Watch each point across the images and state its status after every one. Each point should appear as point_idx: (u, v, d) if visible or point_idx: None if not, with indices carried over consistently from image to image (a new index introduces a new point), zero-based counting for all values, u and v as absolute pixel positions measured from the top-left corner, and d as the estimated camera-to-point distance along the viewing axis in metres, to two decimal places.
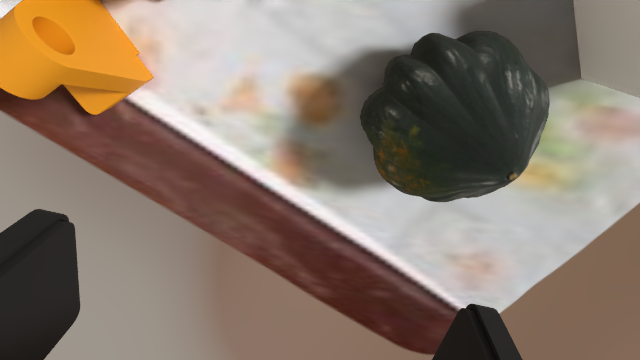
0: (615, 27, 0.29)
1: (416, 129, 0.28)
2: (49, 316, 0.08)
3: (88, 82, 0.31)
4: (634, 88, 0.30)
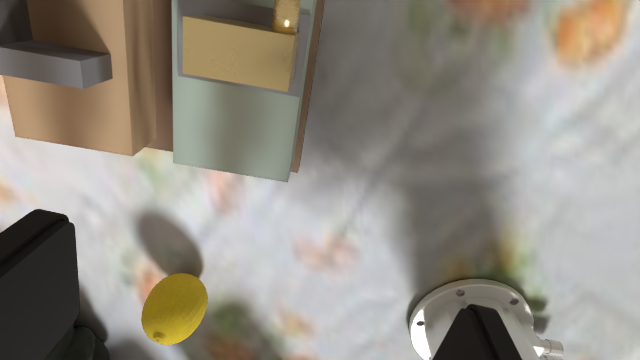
0: None
1: None
2: (49, 316, 0.08)
3: None
4: None
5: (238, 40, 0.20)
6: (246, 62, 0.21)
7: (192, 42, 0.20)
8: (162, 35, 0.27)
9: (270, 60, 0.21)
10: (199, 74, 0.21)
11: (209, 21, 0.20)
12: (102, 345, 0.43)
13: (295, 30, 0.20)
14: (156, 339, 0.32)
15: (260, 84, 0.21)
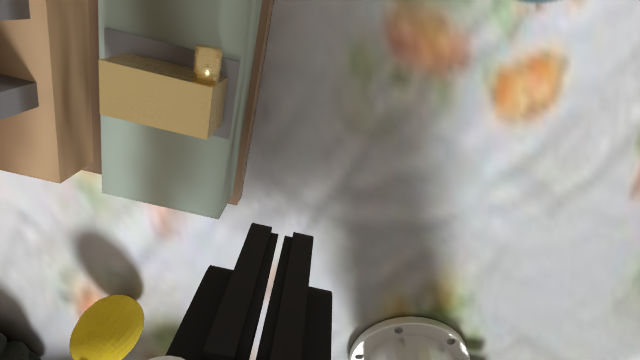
0: None
1: None
2: (259, 314, 0.09)
3: None
4: None
5: (156, 87, 0.20)
6: (164, 108, 0.20)
7: (109, 85, 0.20)
8: None
9: (189, 109, 0.20)
10: (117, 116, 0.21)
11: (126, 66, 0.20)
12: None
13: (216, 80, 0.20)
14: None
15: (179, 130, 0.21)
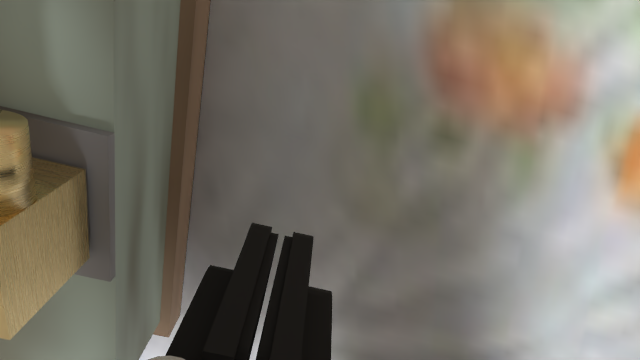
0: None
1: None
2: (259, 314, 0.09)
3: None
4: None
5: None
6: None
7: None
8: None
9: None
10: None
11: None
12: None
13: (15, 203, 0.08)
14: None
15: None
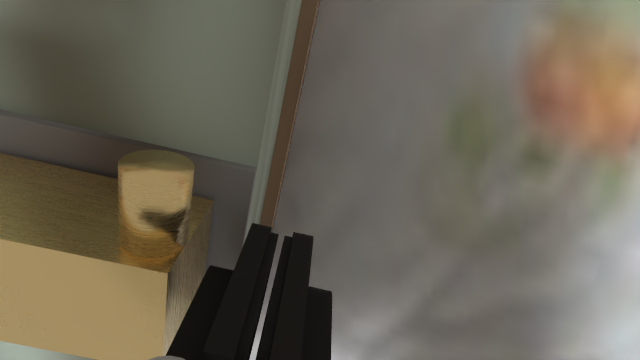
0: None
1: None
2: (259, 314, 0.09)
3: None
4: None
5: (20, 271, 0.08)
6: (49, 313, 0.08)
7: None
8: None
9: (110, 315, 0.08)
10: None
11: None
12: None
13: (179, 241, 0.08)
14: None
15: (93, 354, 0.09)
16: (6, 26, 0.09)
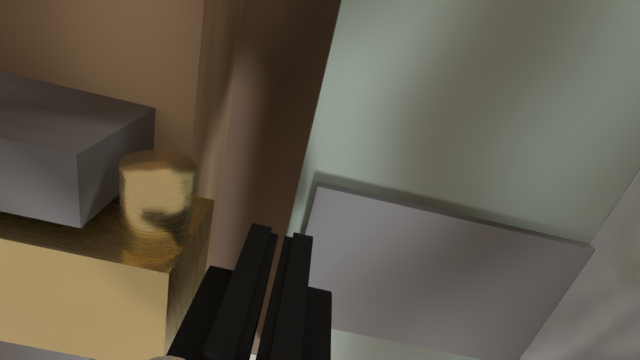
0: None
1: None
2: None
3: None
4: None
5: (21, 270, 0.07)
6: (49, 313, 0.08)
7: None
8: (235, 193, 0.15)
9: (111, 315, 0.08)
10: None
11: None
12: None
13: (180, 241, 0.08)
14: None
15: (93, 354, 0.09)
16: (400, 120, 0.09)
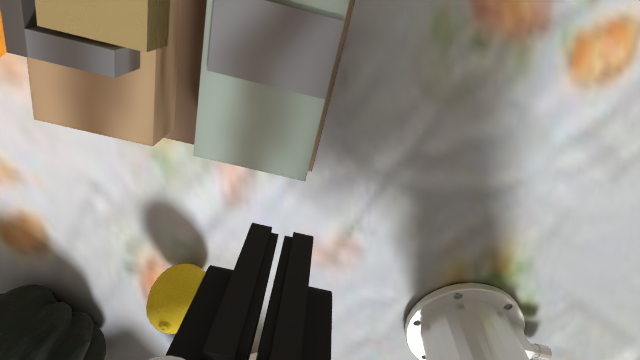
0: None
1: None
2: (259, 314, 0.09)
3: None
4: None
5: None
6: (101, 18, 0.20)
7: None
8: (188, 28, 0.27)
9: (126, 18, 0.20)
10: (54, 28, 0.21)
11: None
12: (99, 331, 0.43)
13: None
14: (161, 328, 0.32)
15: (118, 42, 0.21)
16: None
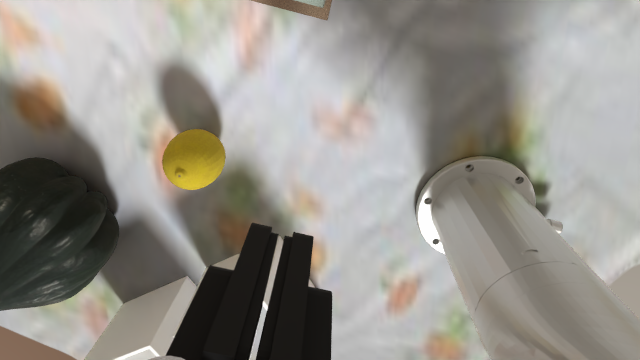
0: (133, 322, 0.45)
1: None
2: (259, 314, 0.09)
3: None
4: (95, 346, 0.44)
5: None
6: None
7: None
8: None
9: None
10: None
11: None
12: (112, 214, 0.43)
13: None
14: (178, 174, 0.33)
15: None
16: None
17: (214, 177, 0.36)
